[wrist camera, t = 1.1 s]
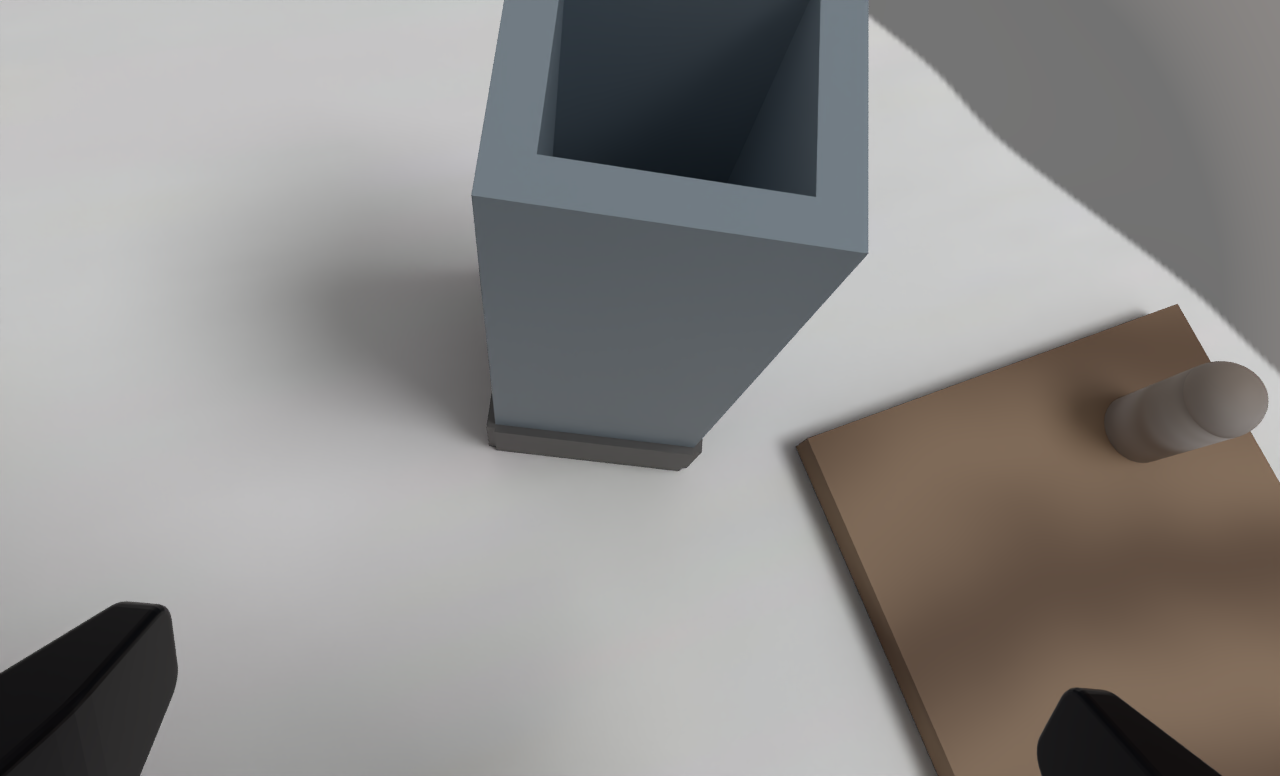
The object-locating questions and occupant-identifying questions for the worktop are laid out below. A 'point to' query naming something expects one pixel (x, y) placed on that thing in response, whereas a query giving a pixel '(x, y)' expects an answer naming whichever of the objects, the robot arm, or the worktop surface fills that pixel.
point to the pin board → (1071, 547)
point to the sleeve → (661, 211)
